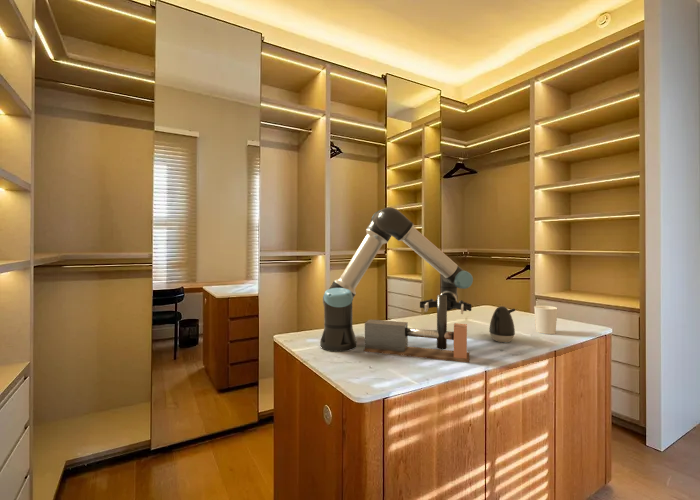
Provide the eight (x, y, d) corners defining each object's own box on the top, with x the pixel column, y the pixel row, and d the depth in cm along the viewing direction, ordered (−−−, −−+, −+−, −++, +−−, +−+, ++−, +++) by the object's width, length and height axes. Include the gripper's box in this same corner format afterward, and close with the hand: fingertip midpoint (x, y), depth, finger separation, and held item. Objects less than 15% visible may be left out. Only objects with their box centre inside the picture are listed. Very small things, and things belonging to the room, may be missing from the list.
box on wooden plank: (364, 348, 139) (364, 322, 138) (369, 343, 145) (369, 319, 144) (404, 352, 133) (404, 325, 133) (407, 347, 139) (407, 322, 139)
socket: (453, 357, 127) (453, 327, 127) (454, 351, 134) (454, 323, 134) (466, 358, 126) (466, 328, 126) (466, 352, 132) (466, 324, 132)
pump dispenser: (518, 345, 146) (518, 309, 146) (491, 343, 148) (492, 308, 148) (511, 338, 156) (512, 304, 156) (487, 337, 158) (487, 303, 158)
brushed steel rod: (396, 345, 136) (396, 294, 135) (398, 342, 139) (398, 292, 139) (460, 351, 128) (461, 297, 128) (461, 348, 131) (461, 295, 131)
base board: (363, 351, 137) (363, 349, 137) (369, 345, 146) (369, 342, 146) (469, 362, 125) (469, 359, 125) (469, 354, 133) (469, 352, 133)
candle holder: (529, 329, 171) (529, 305, 171) (548, 329, 172) (548, 305, 172) (542, 335, 161) (542, 309, 161) (562, 334, 163) (562, 308, 162)
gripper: (477, 311, 150) (478, 321, 130) (418, 307, 158) (411, 317, 138) (477, 293, 149) (478, 301, 129) (418, 291, 158) (411, 298, 138)
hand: (443, 309), depth 134 cm, fingers open, 13 cm apart
